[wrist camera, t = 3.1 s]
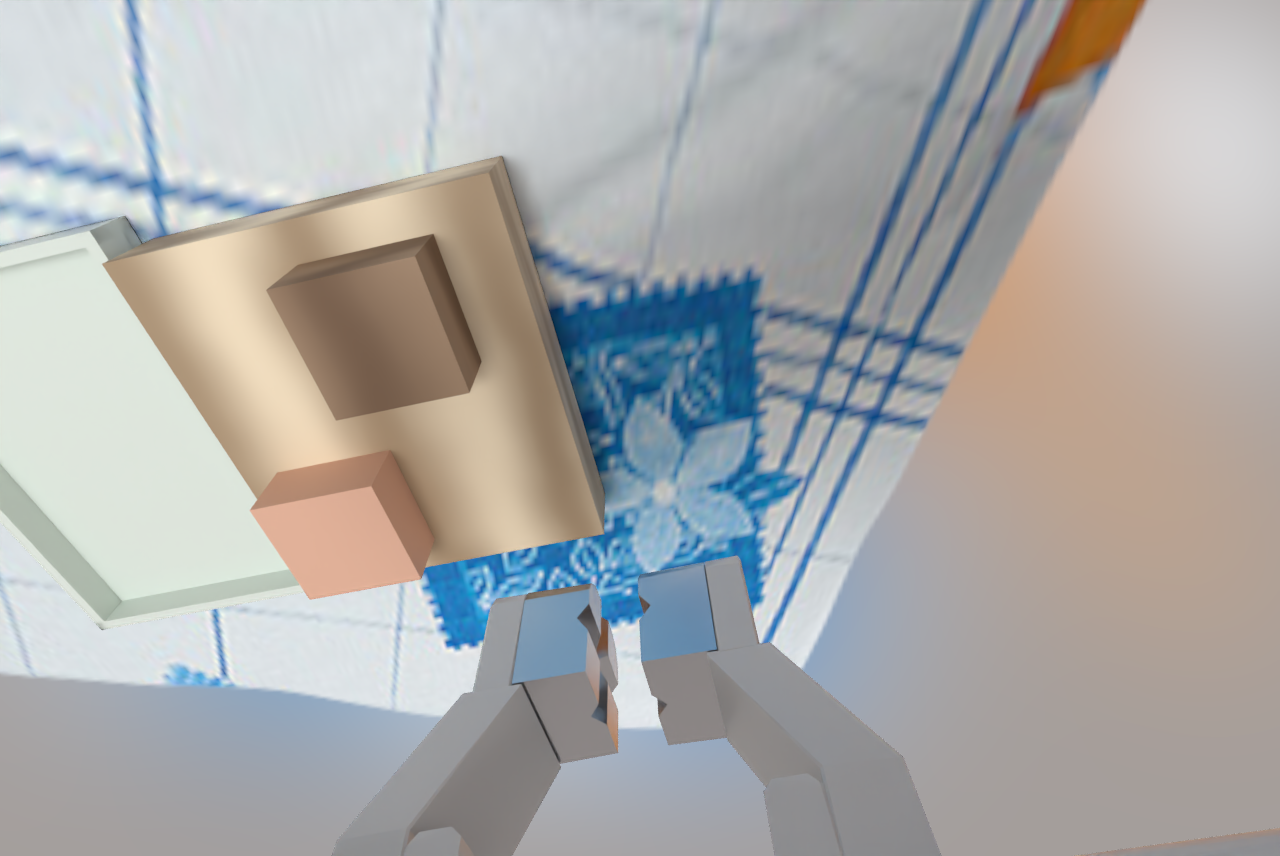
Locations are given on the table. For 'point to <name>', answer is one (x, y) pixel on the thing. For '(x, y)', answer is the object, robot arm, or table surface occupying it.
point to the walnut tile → (379, 327)
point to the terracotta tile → (345, 525)
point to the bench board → (416, 434)
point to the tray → (114, 448)
